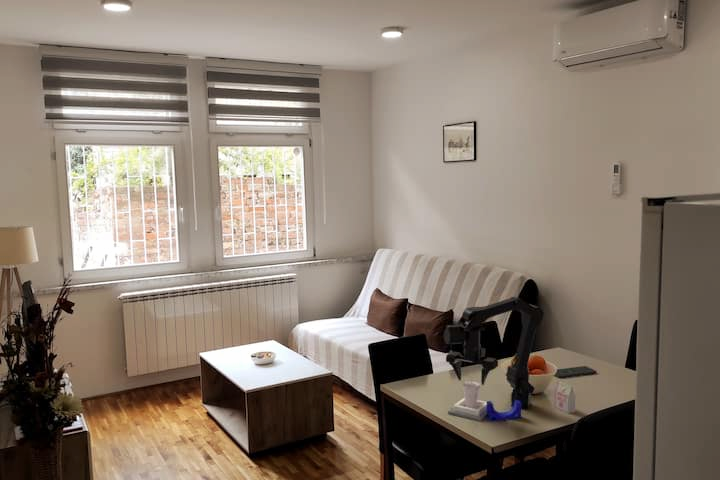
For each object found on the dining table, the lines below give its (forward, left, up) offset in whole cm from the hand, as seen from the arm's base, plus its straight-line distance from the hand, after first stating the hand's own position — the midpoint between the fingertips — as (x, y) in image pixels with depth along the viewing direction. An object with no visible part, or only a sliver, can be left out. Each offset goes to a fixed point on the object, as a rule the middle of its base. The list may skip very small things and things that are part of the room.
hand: (471, 382), depth 223 cm
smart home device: (-21, -65, -12) cm, 70 cm away
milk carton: (-29, -21, -12) cm, 38 cm away
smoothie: (0, 0, -11) cm, 11 cm away
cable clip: (-13, -1, -12) cm, 17 cm away
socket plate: (0, 0, -11) cm, 11 cm away
